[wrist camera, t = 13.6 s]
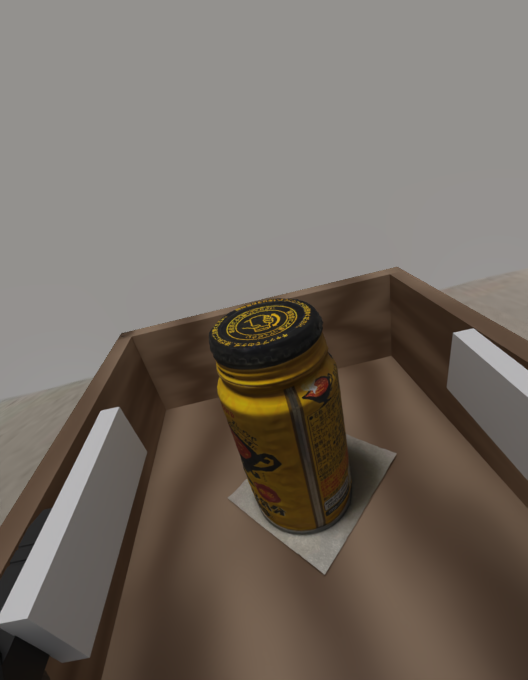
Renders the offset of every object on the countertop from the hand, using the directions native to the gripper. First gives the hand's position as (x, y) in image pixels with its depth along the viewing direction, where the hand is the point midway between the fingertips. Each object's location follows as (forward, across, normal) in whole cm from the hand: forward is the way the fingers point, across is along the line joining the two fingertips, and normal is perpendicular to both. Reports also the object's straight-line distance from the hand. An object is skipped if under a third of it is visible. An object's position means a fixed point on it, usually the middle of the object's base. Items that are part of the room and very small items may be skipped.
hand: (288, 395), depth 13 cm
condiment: (+3, 0, -10) cm, 11 cm away
